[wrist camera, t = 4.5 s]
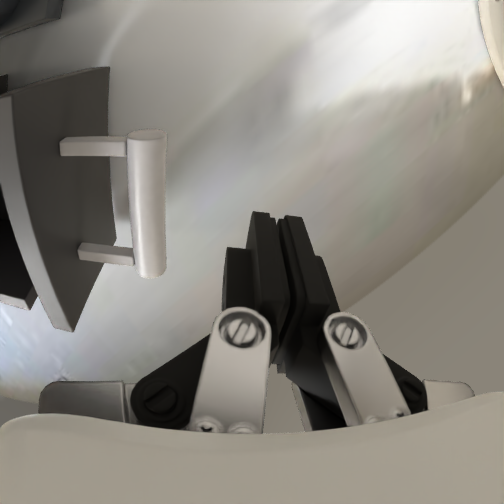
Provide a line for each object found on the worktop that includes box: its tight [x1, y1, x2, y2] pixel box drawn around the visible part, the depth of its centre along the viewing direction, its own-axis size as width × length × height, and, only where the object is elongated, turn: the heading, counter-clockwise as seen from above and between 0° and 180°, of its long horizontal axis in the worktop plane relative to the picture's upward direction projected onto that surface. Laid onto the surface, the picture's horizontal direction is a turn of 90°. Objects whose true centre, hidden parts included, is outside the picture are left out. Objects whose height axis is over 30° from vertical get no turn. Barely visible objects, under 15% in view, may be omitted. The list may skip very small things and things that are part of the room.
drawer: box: [0, 67, 167, 332], centre depth 10 cm, size 17×10×7 cm, turn 81°
